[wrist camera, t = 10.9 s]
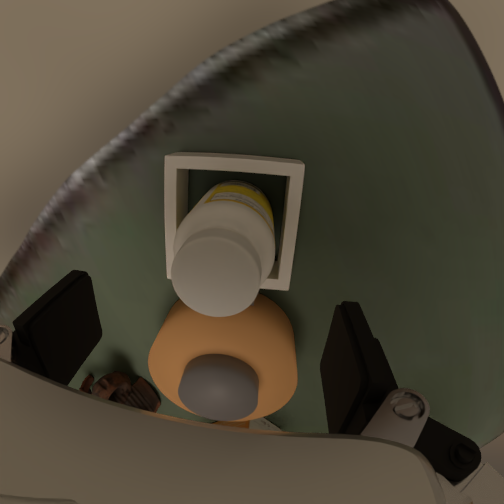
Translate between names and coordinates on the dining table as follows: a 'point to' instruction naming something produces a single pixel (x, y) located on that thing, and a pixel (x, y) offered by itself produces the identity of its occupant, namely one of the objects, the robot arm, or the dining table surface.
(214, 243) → the supplement bottle
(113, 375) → the brown curved piece
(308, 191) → the dining table surface
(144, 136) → the dining table surface
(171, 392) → the disc and frame
